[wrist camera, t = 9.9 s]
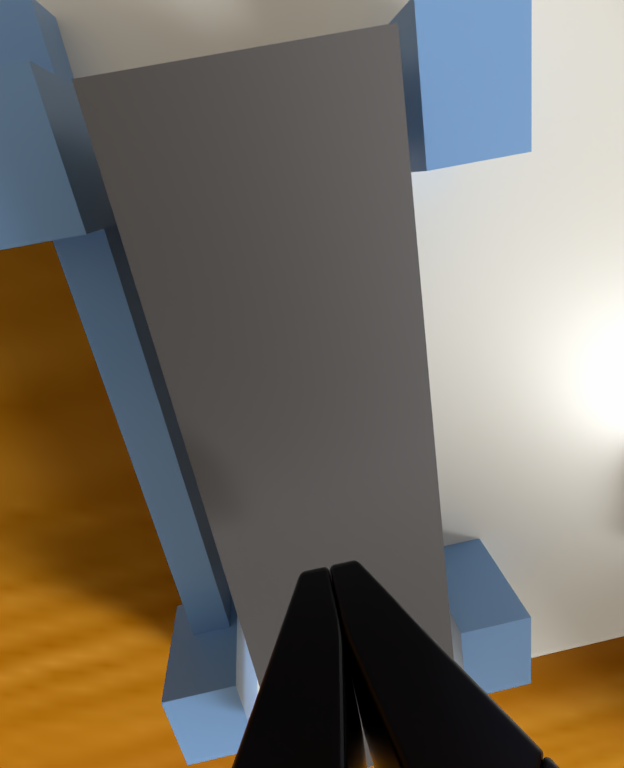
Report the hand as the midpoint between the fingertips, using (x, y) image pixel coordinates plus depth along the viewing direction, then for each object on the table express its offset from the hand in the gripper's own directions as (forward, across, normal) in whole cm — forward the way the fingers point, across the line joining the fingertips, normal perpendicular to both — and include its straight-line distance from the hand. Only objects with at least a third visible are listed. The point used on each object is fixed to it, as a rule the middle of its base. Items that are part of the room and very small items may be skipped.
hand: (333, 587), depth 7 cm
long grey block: (+6, 0, 0) cm, 6 cm away
